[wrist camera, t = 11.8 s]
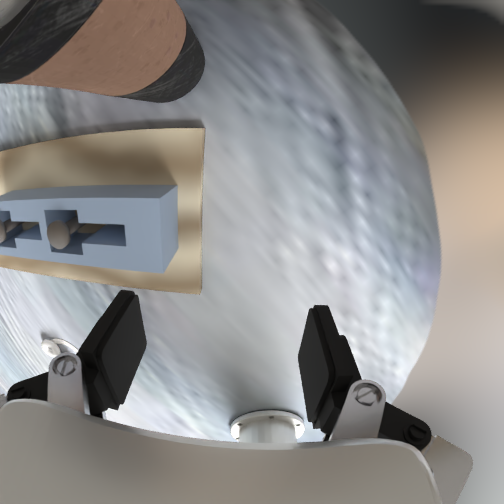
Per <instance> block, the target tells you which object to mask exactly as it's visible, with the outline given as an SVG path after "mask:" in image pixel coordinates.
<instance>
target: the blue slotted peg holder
mask: <svg viewBox="0 0 504 504" xmlns="http://www.w3.org/2000/svg"><path fill="white" fill-rule="evenodd" d="M75 210H77V214H78V222H79V223H94V224H106V225H105V226H104V227H102V228H101V229H100V230H98V231H97V232H96V233H78V230H76V231H75V232H74V233H72V234H71V240H70V242H69V244H68V245H67V246H66V247H64V248H63V249H56V248H54V247H53V246H52V245H51V244H50V242H49V240H48V237H47V228H48V226H49V224H51V223H52V222H54V221H56V220H61V221H63V222H64V223H65V222H67V221H68V220H70V219H72V218H73V217H75V216H76V215H75ZM10 218H11V221H22V222H39V224H37V225H35V226H34V227H32V228H30V229H29V230H23V227H22V224H21V225H19V226H17V227H15V228H14V229H12V230H10V231H9V232H7V237H6V239H5V241H3V242H1V243H0V255H6V256H13V257H21V258H28V259H35V260H43V261H51V262H59V263H67V264H75V265H84V266H93V267H102V268H111V269H121V270H131V271H141V272H152V273H163V274H164V272H165V270H166V269H167V267H168V265H169V263H170V262H171V260H172V258H173V257H174V255H175V253H176V252H177V250H178V185H89V186H66V187H49V188H35V189H23V190H13V191H10V192H8V193H5V194H3V195H1V196H0V220H1V221H2V222H4V221H6V220H8V219H10Z"/></svg>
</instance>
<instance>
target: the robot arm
mask: <svg viewBox="0 0 504 504" xmlns="http://www.w3.org/2000/svg"><path fill="white" fill-rule="evenodd" d="M146 345H147V341H146V336H145V331H144V326H143V321H142V316H141V310H140V304H139V298H138V295H135V293H134V292H133V291H127V290H121V291H120V292H119V293H118V294H117V296H116V297H115V299H114V300H113V301H112V303H111V304H110V306H109V307H108V308H107V310H106V311H105V313H104V314H103V316H102V317H101V318H100V319H99V320H98V322H97V323H96V325H95V326H94V327H93V329H92V330H91V332H90V333H89V335H88V337H87V338H86V340H85V341H84V343H83V344H82V346H81V347H80V349H79V350H78V352H77V354H76V355H75V354H73V353H62V354H59V355H57V356H56V357H55V358H53V359H52V361H51V362H50V365H49V372H46V373H43V374H40V375H38V376H35V377H32V378H29V379H26V380H23V381H20V382H18V383H16V384H14V385H13V386H11V387H10V389H9V391H8V394H7V396H5V394H2V395H0V504H455V503H456V501H457V499H458V497H459V495H460V493H461V491H462V489H463V487H464V485H465V483H466V481H467V479H468V477H469V474H470V472H471V470H472V466H473V460H472V457H471V456H470V454H468V453H467V452H466V451H464V450H462V449H460V448H458V447H457V446H455V445H453V444H451V443H450V442H448V441H446V440H444V439H443V438H441V437H439V436H438V435H436V436H435V437H433V436H432V435H431V430H430V428H429V426H428V425H427V424H426V423H425V422H423V421H422V420H420V419H418V418H416V417H414V416H412V415H409V414H408V413H406V412H404V411H402V410H400V409H398V408H396V407H394V406H393V405H391V404H389V403H387V402H385V401H386V394H385V391H384V389H383V388H382V387H381V386H380V385H379V384H378V383H376V382H374V381H371V380H362V379H361V376H360V373H359V371H358V368H357V365H356V362H355V360H354V357H353V354H352V352H351V349H350V347H349V344H348V341H347V339H346V337H345V336H344V335H339V333H338V330H337V328H336V325H335V322H334V320H333V317H332V314H331V312H330V309H329V307H328V306H327V305H315V306H314V307H313V308H310V309H309V312H308V316H307V321H306V325H305V329H304V333H303V338H302V342H301V346H300V350H299V354H298V362H299V368H300V374H301V380H302V386H303V393H304V399H305V405H306V412H307V418H308V422H312V424H313V429H319V428H321V431H322V432H324V433H325V435H324V437H323V440H322V441H321V442H302V443H297V438H299V437H300V436H301V435H302V434H303V432H304V429H305V427H304V422H303V420H302V419H301V418H300V417H299V416H297V415H295V414H292V413H289V412H285V411H278V410H265V411H256V412H252V413H248V414H245V415H242V416H240V417H238V418H237V419H235V420H234V421H233V422H232V424H231V427H230V433H231V435H232V437H233V438H234V439H236V440H237V441H239V442H228V441H216V440H206V439H198V438H190V437H183V436H176V435H170V434H165V433H159V432H154V431H149V430H145V429H140V428H136V427H131V426H127V425H123V424H120V423H116V422H112V421H109V420H107V419H106V414H105V411H106V410H107V409H108V408H111V409H115V410H118V408H119V405H120V404H123V403H124V401H125V399H126V396H127V394H128V391H129V388H130V386H131V383H132V381H133V378H134V376H135V373H136V371H137V368H138V366H139V364H140V361H141V359H142V356H143V354H144V352H145V349H146Z"/></svg>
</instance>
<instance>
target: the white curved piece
mask: <svg viewBox="0 0 504 504" xmlns="http://www.w3.org/2000/svg"><path fill="white" fill-rule="evenodd" d="M57 344H64V345H66V346H68V347H70V348H71V349H73V350H74V351H75V352H76V353H77V352H78V349H77V348H75V347H74V346H73V345H71V344H70V343H68V342H66V341H64V340H62V339H52V340H47V339H46V340H43V341H42V343H41V347H42V349H43V350H44V352H45V353H47V354H48V355H49V356H52V357H56V356H57V355H59V354H60V348H59V347H58V345H57ZM49 347H50V348H49ZM64 353H67V352H64Z"/></svg>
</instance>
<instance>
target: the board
mask: <svg viewBox="0 0 504 504" xmlns="http://www.w3.org/2000/svg"><path fill="white" fill-rule="evenodd" d="M204 141H205V128H165V129H142V130H127V131H115V132H105V133H96V134H88V135H80V136H73V137H67V138H60V139H55V140H49V141H44V142H39V143H34V144H29V145H25V146H21V147H16V148H12V149H8V150H4V151H1V152H0V196H1V195H3V194H5V193H8V192H10V191H13V190H23V189H35V188H49V187H66V186H89V185H178V250H177V252H176V253H175V255H174V257H173V258H172V260H171V262H170V263H169V265H168V267H167V269H166V270H165V272H164V274H163V273H152V272H141V271H131V270H121V269H111V268H102V267H93V266H84V265H75V264H67V263H59V262H51V261H43V260H35V259H28V258H21V257H13V256H6V255H0V267H3V268H8V269H14V270H19V271H24V272H30V273H36V274H41V275H47V276H53V277H59V278H66V279H72V280H79V281H86V282H93V283H100V284H108V285H115V286H123V287H132V288H140V289H149V290H158V291H168V292H178V293H188V294H199V295H200V293H201V289H202V187H203V161H204ZM75 215H76V216H75V217H73V218H72V219H70V220H68V221H67V222H65V223H64V222H63V221H61V220H56V221H54V222H52V223H51V224H49V226H48V228H47V237H48V240H49V242H50V244H51V245H52V246H53V247H54V248H56V249H63V248H64V247H66V246H67V245H68V244H69V242H70V240H71V234H72V233H74V232H75V231H76V230H78V233H96V232H97V231H98V230H100V229H101V228H102V227H104V226H105V225H106V224H94V223H79V222H78V214H77V210H75ZM21 224H22V227H23V230H29V229H30V228H32V227H34V226H35V225H37V224H39V222H22V221H11V218H10V219H8V220H6V221H4V222H2V221H1V220H0V243H1V242H3V241H5V239H6V237H7V232H9V231H10V230H12V229H14V228H15V227H17V226H19V225H21Z"/></svg>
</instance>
